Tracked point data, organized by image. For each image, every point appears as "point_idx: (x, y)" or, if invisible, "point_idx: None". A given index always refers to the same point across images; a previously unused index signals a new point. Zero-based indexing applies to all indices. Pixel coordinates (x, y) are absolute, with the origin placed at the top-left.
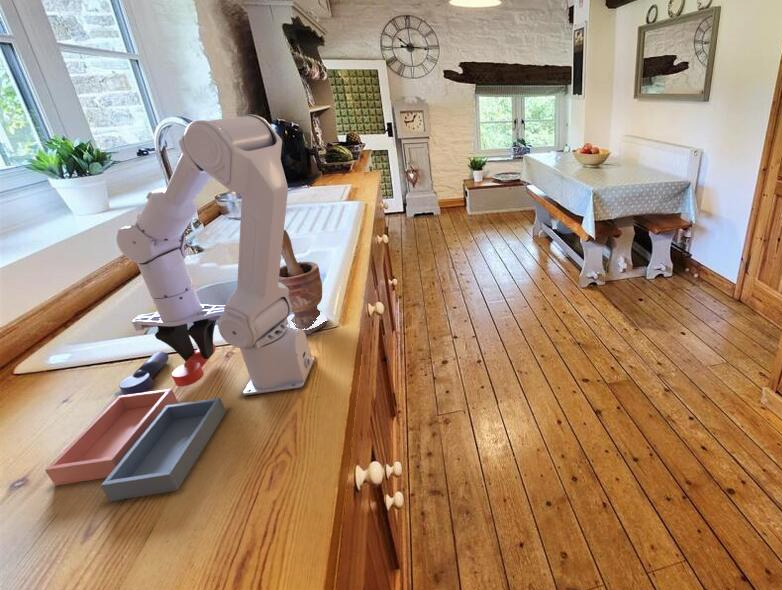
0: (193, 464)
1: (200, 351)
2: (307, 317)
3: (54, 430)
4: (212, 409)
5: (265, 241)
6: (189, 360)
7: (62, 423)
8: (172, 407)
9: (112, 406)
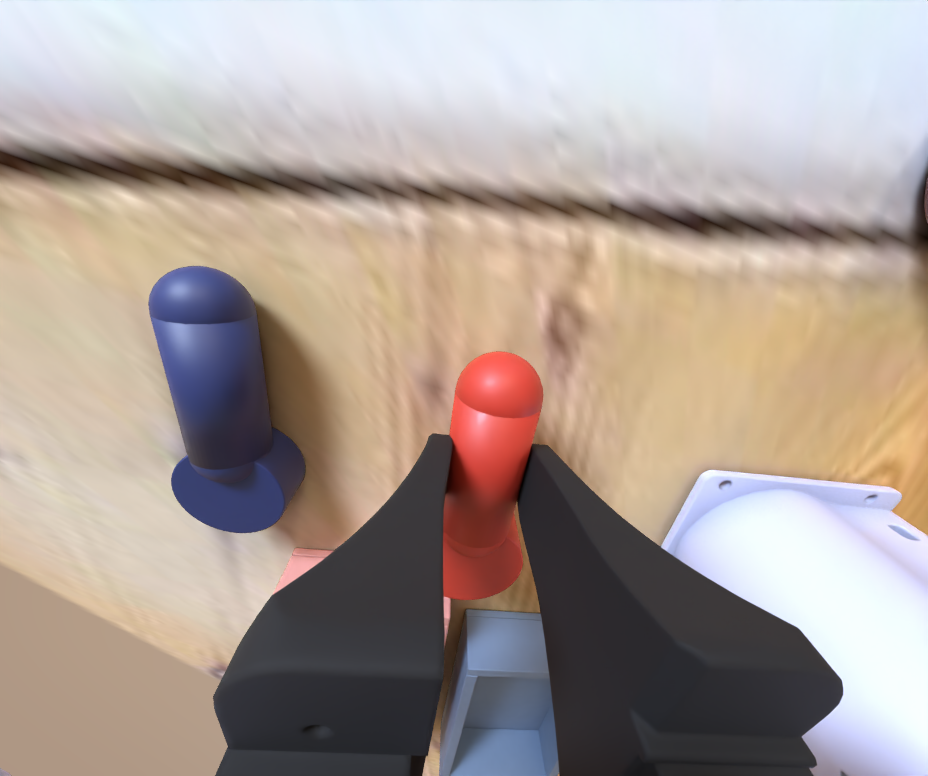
0: None
1: (529, 551)
2: None
3: (131, 570)
4: None
5: None
6: (473, 549)
7: (124, 551)
8: (488, 674)
9: None
